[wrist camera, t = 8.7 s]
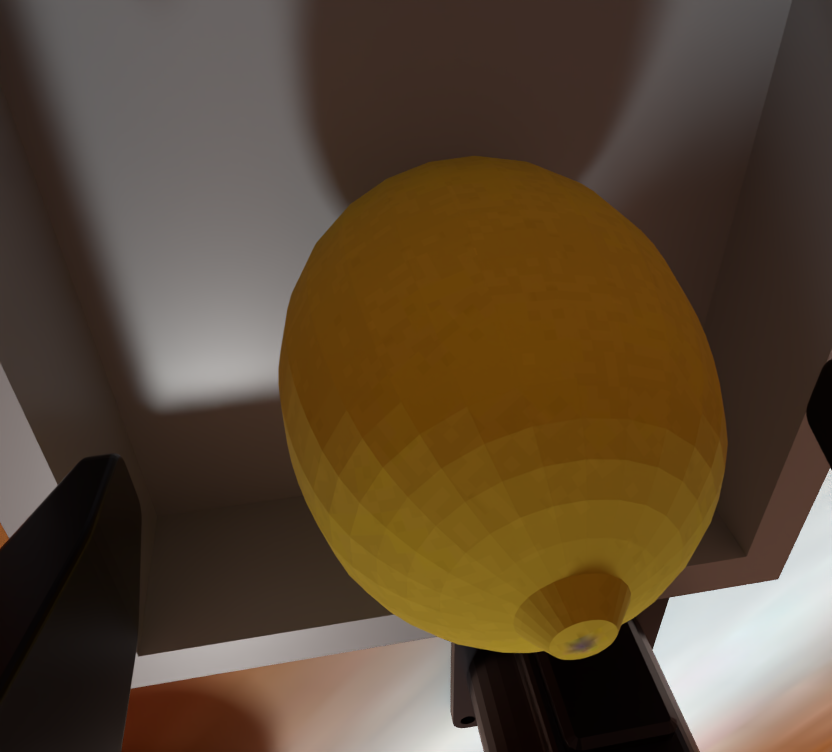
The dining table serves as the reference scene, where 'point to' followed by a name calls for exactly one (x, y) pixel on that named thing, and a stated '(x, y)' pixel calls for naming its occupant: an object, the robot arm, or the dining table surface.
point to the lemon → (501, 407)
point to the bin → (322, 205)
